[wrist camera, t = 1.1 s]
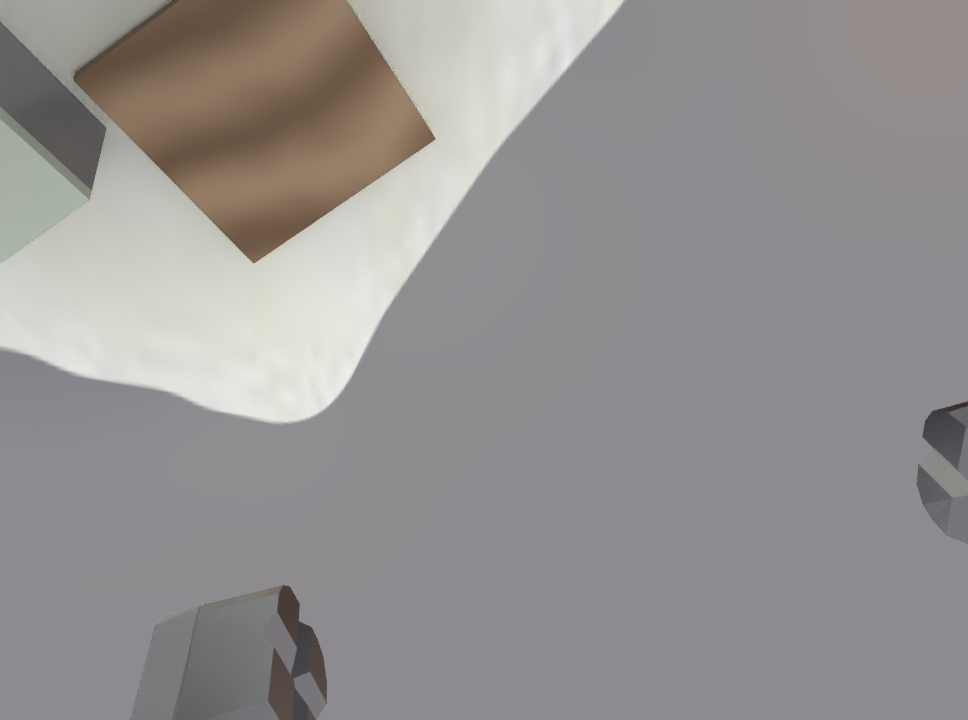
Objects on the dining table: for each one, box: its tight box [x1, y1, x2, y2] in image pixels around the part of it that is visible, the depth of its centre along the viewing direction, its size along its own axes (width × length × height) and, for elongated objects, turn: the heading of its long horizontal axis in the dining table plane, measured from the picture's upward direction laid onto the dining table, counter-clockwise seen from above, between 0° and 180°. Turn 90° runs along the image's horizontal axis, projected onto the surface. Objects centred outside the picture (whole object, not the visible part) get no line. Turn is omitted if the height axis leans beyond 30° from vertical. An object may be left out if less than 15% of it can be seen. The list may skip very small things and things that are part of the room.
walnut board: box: [73, 0, 435, 263], centre depth 43 cm, size 14×14×1 cm
